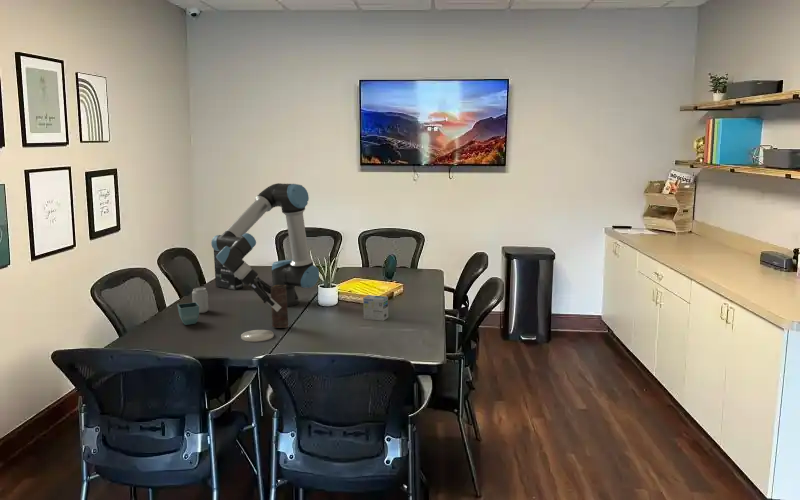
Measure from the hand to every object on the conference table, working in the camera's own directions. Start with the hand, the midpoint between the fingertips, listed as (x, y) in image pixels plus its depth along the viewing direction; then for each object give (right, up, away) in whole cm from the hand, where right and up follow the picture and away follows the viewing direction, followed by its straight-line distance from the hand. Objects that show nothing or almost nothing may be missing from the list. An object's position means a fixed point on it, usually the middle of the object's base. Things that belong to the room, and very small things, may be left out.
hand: (280, 305), depth 300 cm
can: (-46, -6, +32) cm, 57 cm away
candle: (-1, -10, +2) cm, 11 cm away
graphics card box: (-46, +3, +86) cm, 98 cm away
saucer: (-8, -13, -12) cm, 19 cm away
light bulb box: (+43, -8, +17) cm, 47 cm away
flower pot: (-45, -9, +10) cm, 47 cm away
